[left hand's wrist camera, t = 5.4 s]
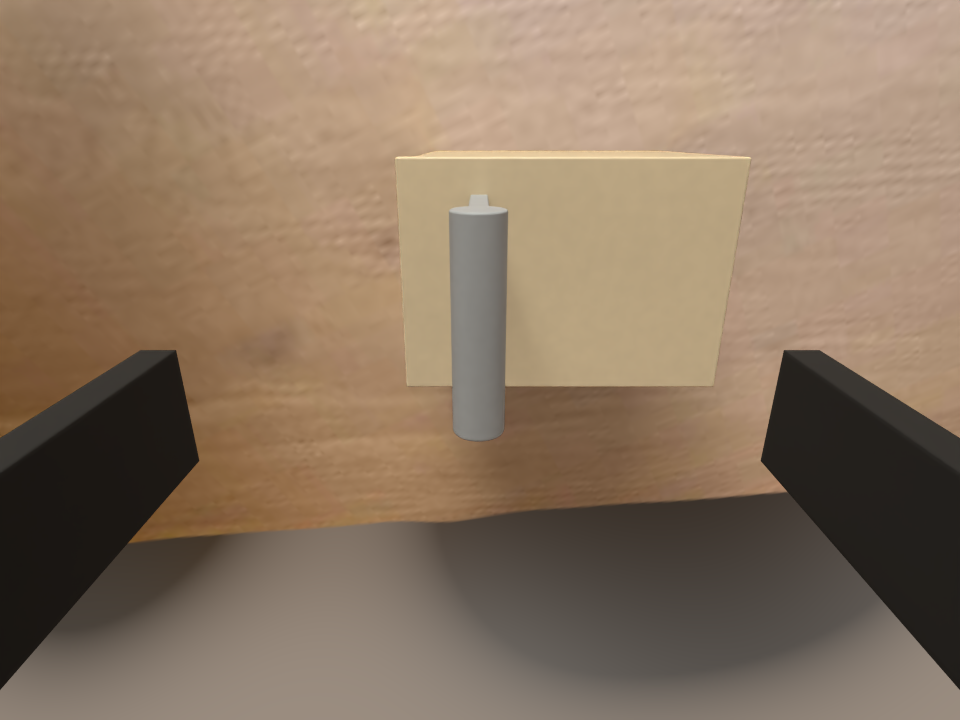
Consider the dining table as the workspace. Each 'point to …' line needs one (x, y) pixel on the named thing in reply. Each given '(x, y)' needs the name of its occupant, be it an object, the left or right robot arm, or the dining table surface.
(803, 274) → the dining table surface
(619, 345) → the lid
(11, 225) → the dining table surface
